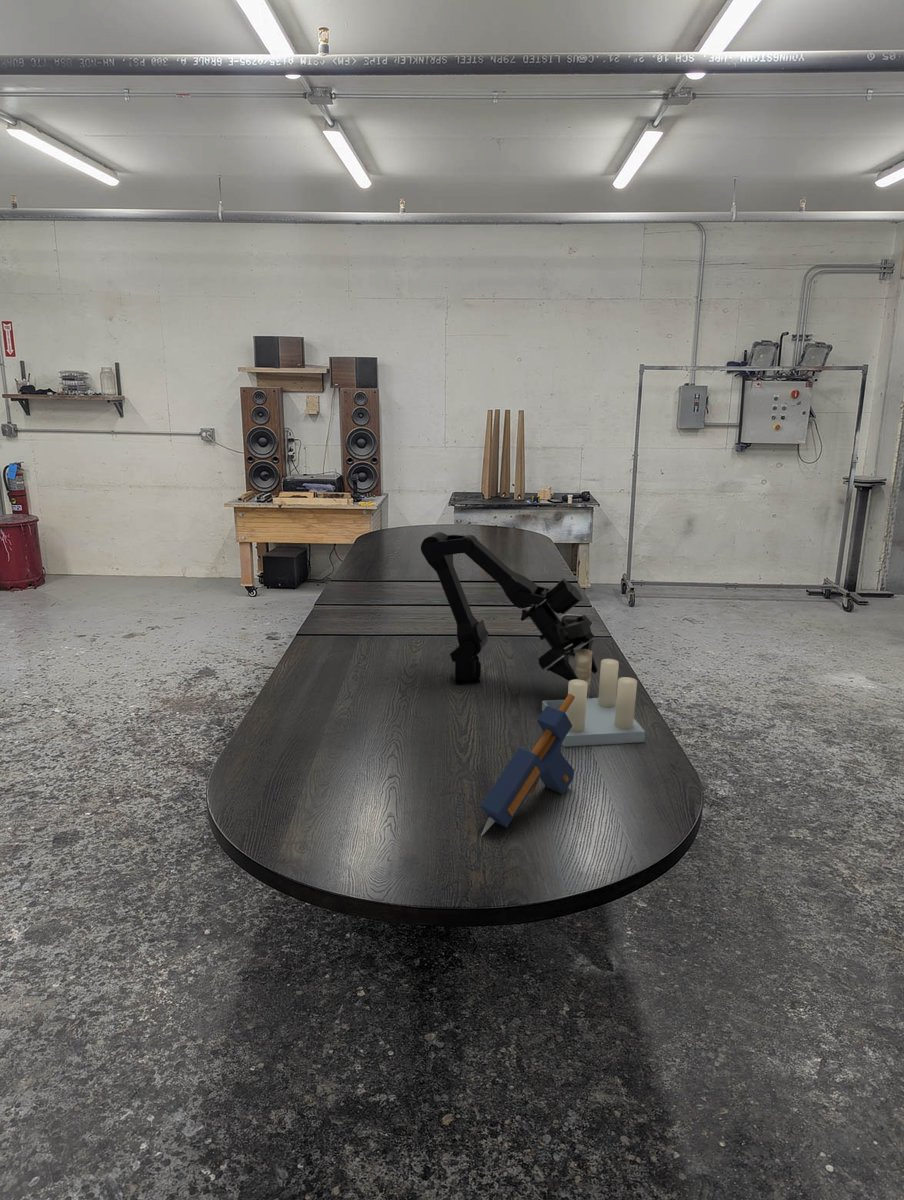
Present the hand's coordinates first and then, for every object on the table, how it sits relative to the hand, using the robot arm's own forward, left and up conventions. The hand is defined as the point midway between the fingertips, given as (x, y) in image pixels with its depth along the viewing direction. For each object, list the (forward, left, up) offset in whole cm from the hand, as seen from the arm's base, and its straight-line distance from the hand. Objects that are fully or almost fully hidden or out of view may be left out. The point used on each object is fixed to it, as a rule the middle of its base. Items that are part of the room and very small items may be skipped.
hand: (587, 678), depth 176 cm
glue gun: (-28, -40, -7) cm, 49 cm away
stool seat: (-4, -11, -7) cm, 14 cm away
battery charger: (+9, +32, -7) cm, 34 cm away
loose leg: (-1, +1, -7) cm, 7 cm away
